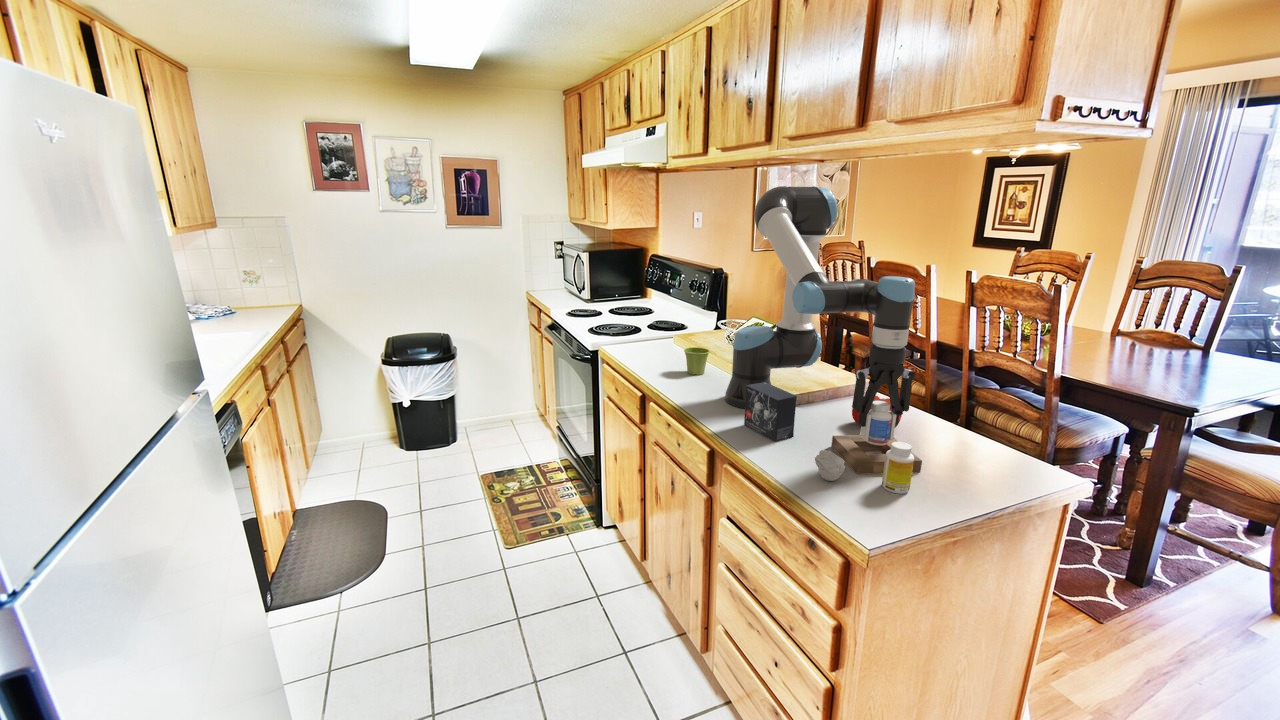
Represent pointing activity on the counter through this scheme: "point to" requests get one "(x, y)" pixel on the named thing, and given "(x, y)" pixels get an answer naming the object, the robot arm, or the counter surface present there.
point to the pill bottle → (879, 423)
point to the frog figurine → (829, 465)
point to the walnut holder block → (858, 460)
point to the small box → (770, 411)
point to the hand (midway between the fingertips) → (876, 438)
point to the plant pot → (696, 360)
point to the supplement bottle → (898, 468)
